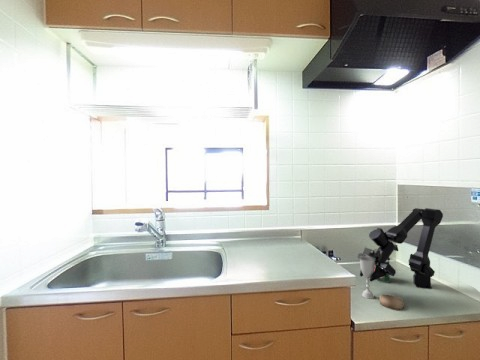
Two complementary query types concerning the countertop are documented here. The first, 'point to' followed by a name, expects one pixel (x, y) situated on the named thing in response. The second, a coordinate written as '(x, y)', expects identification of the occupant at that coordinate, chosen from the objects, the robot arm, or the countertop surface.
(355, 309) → the countertop surface
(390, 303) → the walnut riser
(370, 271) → the chalice
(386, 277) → the canned tomato
